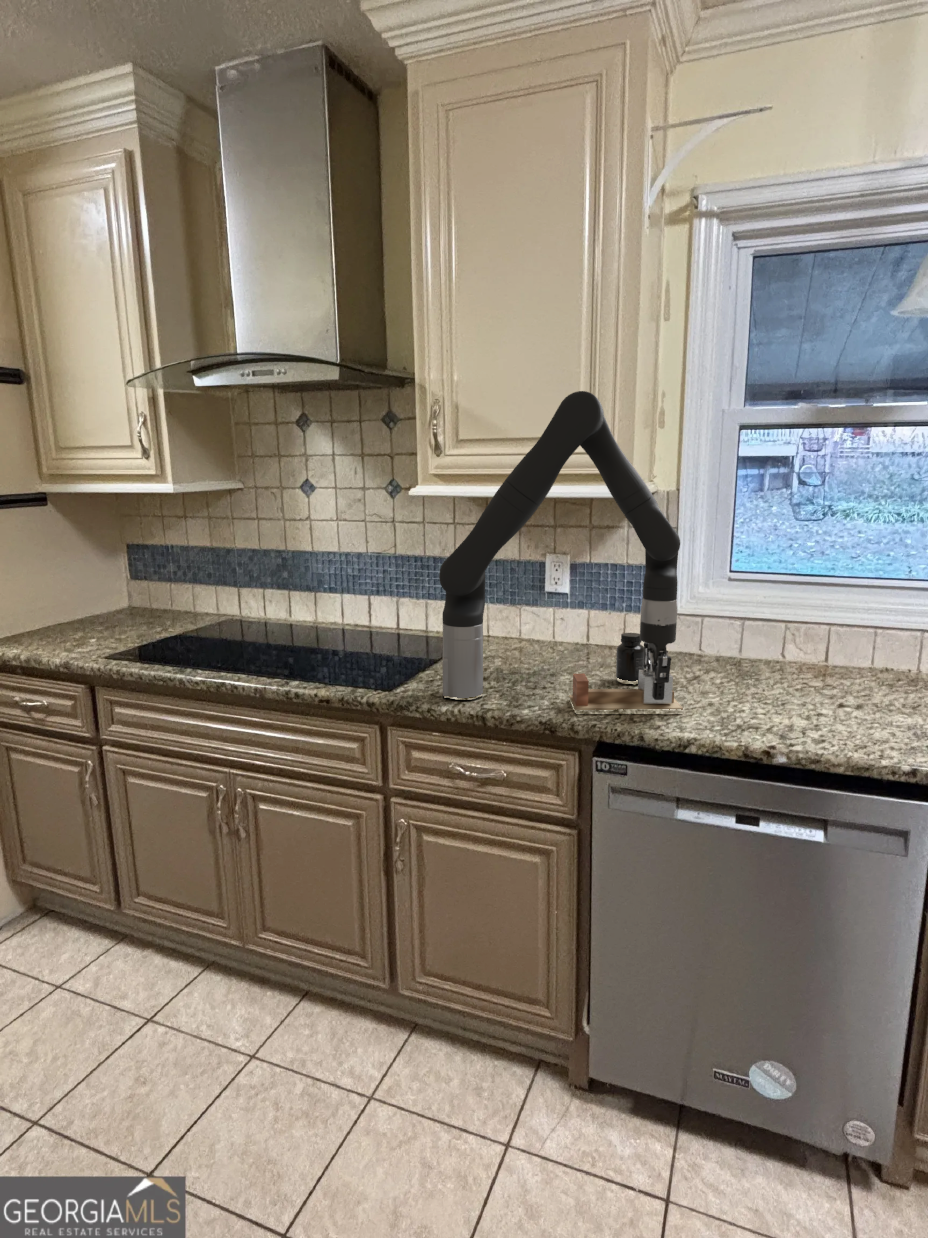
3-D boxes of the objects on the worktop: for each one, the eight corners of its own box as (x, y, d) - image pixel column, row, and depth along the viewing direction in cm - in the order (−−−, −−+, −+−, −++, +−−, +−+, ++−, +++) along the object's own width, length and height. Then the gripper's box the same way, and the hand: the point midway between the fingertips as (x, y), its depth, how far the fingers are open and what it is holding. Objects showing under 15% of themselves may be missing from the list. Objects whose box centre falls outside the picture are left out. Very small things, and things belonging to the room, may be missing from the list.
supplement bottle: (639, 677, 183) (641, 631, 180) (647, 685, 176) (649, 637, 173) (612, 678, 182) (614, 631, 180) (619, 686, 176) (621, 637, 173)
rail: (574, 714, 155) (575, 683, 154) (569, 701, 164) (569, 671, 163) (682, 714, 155) (684, 683, 154) (671, 701, 164) (672, 671, 162)
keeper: (643, 703, 156) (644, 676, 155) (637, 695, 162) (638, 669, 161) (671, 703, 156) (673, 676, 155) (664, 695, 162) (666, 669, 161)
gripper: (633, 613, 163) (630, 685, 166) (649, 626, 148) (645, 705, 152) (667, 612, 162) (663, 685, 166) (685, 626, 148) (681, 705, 152)
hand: (654, 694), depth 159 cm, fingers closed on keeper, 5 cm apart
